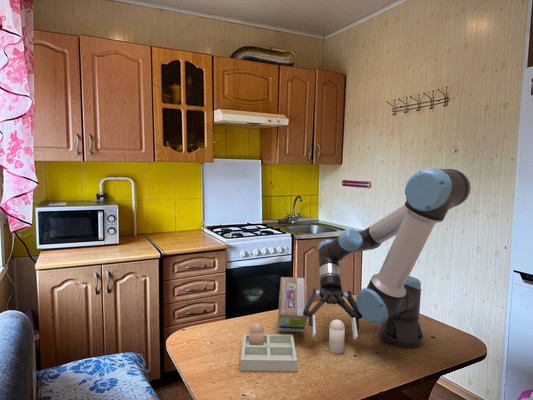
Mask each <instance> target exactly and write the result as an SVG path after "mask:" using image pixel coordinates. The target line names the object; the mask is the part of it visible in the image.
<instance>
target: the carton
mask: <svg viewBox="0 0 533 400" xmlns="http://www.w3.org/2000/svg"><path fill="white" fill-rule="evenodd" d="M248 330H249V333H243V338H242V346H241V353H240V372H289V373H291V372H293V373H295V372H298V358H297V352H296V346H295V340H294V334H279V333H278V334H275V333H273V334H272V333H271V334H268V333H265V329H264V325H262V323H259V322H254V323H252V324H251V325H250V327H249V329H248Z"/></svg>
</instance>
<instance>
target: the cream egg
mask: <svg viewBox="0 0 533 400" xmlns="http://www.w3.org/2000/svg"><path fill="white" fill-rule="evenodd" d="M345 327H346V326H345V324H344V321H342V320H340V319H333V320H331V321H330V323H329V330H328V331H329V333H328V334H329V336H328V351H329V352H330V353H332V354H336V355H339V354H340V355H341V354H343V353H344V351H345V334H346V333H345V330H346V329H345Z"/></svg>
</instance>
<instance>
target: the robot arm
mask: <svg viewBox="0 0 533 400" xmlns="http://www.w3.org/2000/svg"><path fill="white" fill-rule="evenodd" d="M404 187H405V188H404V194H405V202H404V205H402V206H400V207H399V208H397V209H396V210H394V211H392V212H390V213H389V214H387V215H386V216H384V217H383V218H381V219H379V220H378V221H376V222H375V223H373V224H371V225H370V226H369V227H366V228H365V229H363V230H359V231H358V230H356V229H354V228H348V229H346V230H345V231H343V232H341V233H340V234H339V235H338V236H337V237H335V238H334V239H325V240H321V241H320V242H319V244H318V249H317V250H318V251H317V255H318V267H319V285H320V290H318V289H316V288H313V289H312V291H311V296H310V297H309V300H307V305H306V307H305V309H304V311H303V315H307V316H308V317H307V320H308V326H309V327H311V335H312V338H315V337H316V335H317V334H316V333H317V331H316V315H315V313H317V311H318V310H319V309H320V308H321V306H323V305H324V304H325V303H326V304H327V305H338V306H339V307H341V308H342V309H343V310H344V311H345V312H346V313H347V315H348V316H350V318H352V319H351V331H352V338H353V341H356V340H357V339H358V337H359V336H358V329H359V328H360V323H359V322H360V321H359V320H362V318H363V319H364V320H366V322H369V323H371V324H374V325H375V324H376V325H377V324H380V325H379V328H378V337H379V339H380V340H381V341H383V342H384V343H386V344H388V345H390V346H394V347H396V348H397V347H398V348H403V349H415V348H420V347H421V346H422V345H423V344H424V333H423V330H422V327H421V323H420V322H421V321H420V311H421V309H420V308H421V296H422V295H421V294H422V283H421V281H420V280H419V279H418V278H416V277H415V276H410V275H411V273H412V270H413V269H414V266H415V265H416V263H417V261H418V259H419V257H420V255H421V252H422V250H423V248H424V247H425V244H426V243H427V241H428V239H429V237H430V235H431V233H432V231H433V228H434V227H435V224H437V223H442V222H443V221H444V220H445V218H446V215H447V213H448V211H449V210H452V209H453V208H455V207H457V206H460V205H461V204H463V203H465V201H466V200H467V199H468V198H469V197H470V196H469V195H470V193H471V182H470V180H469V178H468V176H467V175H466V174H464V173H463V172H461V171H459V170H457V169H453V168H433V167H432V168H425V169H422V170H419V171H416V172H415V173H413V175H411V176H410V177H409V179H408V180H407V182H406V184H405V185H404ZM393 237H394V240H393V241H392V244H391V246H390V248H389V250H388V252H387V254H386V257H385V259H384V261H383V262H382V265H381V267H380V270H379V272H378V273H375V274H372V276H371V278H370V280H369V283H367V286H366V287H364V288H362V289H361V290H359V291H358V293H357V295H356V298H354V297H353V293H352V291H351V290H348V291H345V292H344V291H343V288H342V279H341V269H340V268H341V266H340V261H342V260H343V259H344V258H346V257H348V256H349V255H352V254H357V253H361V252H364V251H370V250H374V249H378V248H379V247H380V246H381V245H382V243H384V242H386V241H388V240H390V239H392V238H393ZM318 295H319V296H320V300H319V301H318V302H317V303H316V304H315V305H314V306H313V307H312V308H311V306H312V305H313V302H314V300H315V298H316V297H318ZM344 298H345V299H344ZM346 300H347V302H348V303H347V302H346ZM310 308H311V310H310Z"/></svg>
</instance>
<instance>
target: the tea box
mask: <svg viewBox="0 0 533 400" xmlns="http://www.w3.org/2000/svg"><path fill="white" fill-rule="evenodd" d="M279 281H280V282H279V291H278V292H279V293H278V295H279V296H278V315H277V316H278V319H277V321H278V322H277V323H278V324H277V325H278V327H277V328H278V330H277V331H278V332H292V333H293V332H297V333H304V332H305V328H306V325H307V320H308V316H307V315H303V311H304V309H305V307H306V305H307V303H308V278H307V277H290V276H286V277H284V276H281V277H280V280H279Z"/></svg>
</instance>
